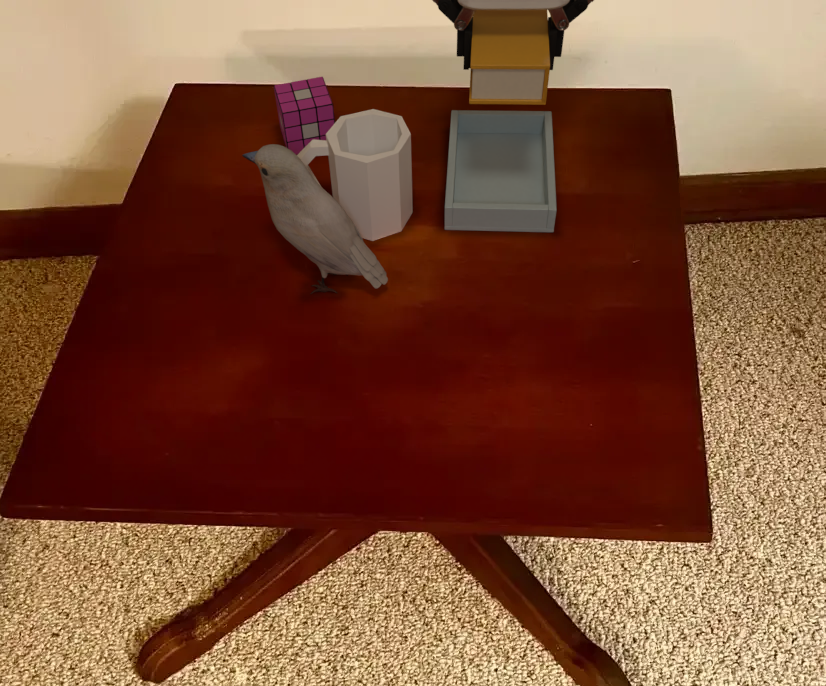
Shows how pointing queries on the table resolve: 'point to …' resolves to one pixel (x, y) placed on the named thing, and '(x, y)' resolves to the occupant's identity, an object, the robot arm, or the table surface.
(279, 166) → the bird
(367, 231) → the mug
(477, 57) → the book
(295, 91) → the puzzle toy
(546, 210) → the tray
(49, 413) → the table surface
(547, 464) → the table surface
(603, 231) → the table surface
